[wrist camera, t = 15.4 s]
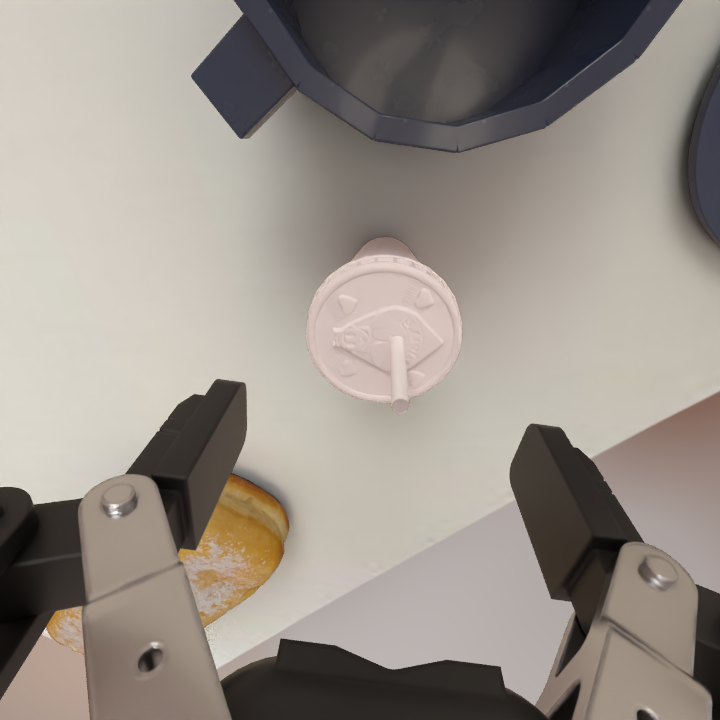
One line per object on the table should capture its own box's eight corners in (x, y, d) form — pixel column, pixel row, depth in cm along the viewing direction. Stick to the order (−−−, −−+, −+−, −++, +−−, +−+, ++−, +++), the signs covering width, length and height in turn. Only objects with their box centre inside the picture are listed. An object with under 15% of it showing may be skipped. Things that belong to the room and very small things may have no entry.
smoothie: (431, 318, 26) (470, 484, 14) (332, 314, 26) (286, 474, 14) (443, 214, 23) (509, 312, 10) (331, 211, 23) (268, 303, 11)
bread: (64, 566, 42) (2, 650, 36) (182, 425, 32) (125, 508, 25) (176, 616, 46) (139, 701, 39) (314, 507, 35) (297, 597, 29)
